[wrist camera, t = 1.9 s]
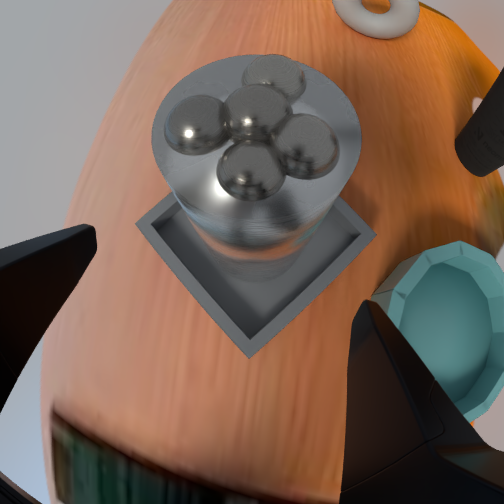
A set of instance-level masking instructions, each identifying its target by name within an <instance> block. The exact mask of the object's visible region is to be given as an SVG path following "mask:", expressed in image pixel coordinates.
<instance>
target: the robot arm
mask: <svg viewBox="0 0 504 504" xmlns="http://www.w3.org/2000/svg"><path fill="white" fill-rule="evenodd" d="M96 251H97V240H96V231H95V228H94V227H93V226H91V225H88V224H81V225H77V226H74V227H70V228H67V229H63V230H60V231H56V232H53V233H50V234H46V235H43V236H39V237H36V238H33V239H30V240H26V241H23V242H20V243H17V244H14V245H11V246H8V247H5V248H2V249H0V413H1V411H2V409H3V407H4V405H5V403H6V401H7V399H8V397H9V395H10V393H11V391H12V389H13V387H14V385H15V383H16V381H17V379H18V377H19V376H20V374H21V372H22V370H23V368H24V367H25V365H26V363H27V361H28V360H29V358H30V356H31V355H32V353H33V351H34V349H35V347H36V346H37V344H38V343H39V341H40V340H41V338H42V336H43V335H44V333H45V332H46V330H47V328H48V327H49V325H50V324H51V322H52V321H53V319H54V318H55V316H56V315H57V313H58V312H59V310H60V309H61V307H62V306H63V304H64V303H65V301H66V300H67V298H68V297H69V296H70V294H71V293H72V291H73V290H74V288H75V287H76V285H77V284H78V282H79V280H80V279H81V277H82V275H83V274H84V272H85V270H86V269H87V267H88V265H89V264H90V262H91V260H92V259H93V257H94V255H95V254H96ZM0 504H42V503H40V502H39V501H38V500H36V499H35V498H33V497H32V496H30V495H29V494H28V493H27V492H25V491H24V490H23V489H21V488H20V487H19V486H17V485H16V484H15V483H14V482H12V481H11V480H10V479H9V478H8V477H6V476H5V475H4V474H3V473H2V472H1V471H0ZM339 504H504V452H502V451H499V450H496V449H494V448H492V447H491V446H489V445H488V444H487V443H485V442H484V441H483V439H482V438H481V437H480V436H479V434H478V433H477V432H476V431H475V429H474V428H473V427H472V426H471V424H470V423H469V422H468V421H467V419H466V418H465V417H464V416H463V414H462V413H461V412H460V411H459V409H458V408H457V407H456V406H455V404H454V403H453V402H452V401H451V399H450V398H449V396H448V395H447V394H446V392H445V391H444V390H443V388H442V387H441V385H440V384H439V383H438V381H437V380H435V377H434V376H433V374H432V373H431V372H430V370H429V369H428V368H427V366H426V365H425V364H424V362H423V361H422V359H421V358H420V357H419V355H418V354H417V353H416V351H415V350H414V349H413V348H412V346H411V345H410V344H409V342H408V341H407V340H406V338H405V337H404V336H403V334H402V333H401V332H400V331H399V329H398V328H397V327H396V326H395V324H394V323H393V322H392V320H391V319H390V318H389V317H388V315H387V314H386V313H385V312H384V310H383V309H382V308H381V307H380V305H379V304H378V303H377V302H374V301H370V300H364V301H363V302H362V304H361V306H360V308H359V310H358V311H357V313H356V315H355V317H354V319H353V322H352V328H351V339H350V348H349V357H348V367H347V412H346V433H345V449H344V462H343V474H342V484H341V493H340V500H339Z"/></svg>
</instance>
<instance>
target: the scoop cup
mask: <svg viewBox="0 0 504 504" xmlns="http://www.w3.org/2000/svg"><path fill="white" fill-rule="evenodd" d="M361 143H362V136H361V127H360V123H359V119H358V116H357V114H356V112H355V109H354V107H353V106H352V104H351V102H350V100H349V99H348V98H347V96H346V95H345V94H344V92H343V91H342V90H341V89H340V88H339V87H338V86H337V85H336V84H335V83H334V82H333V81H331V80H330V79H329V78H327V77H326V76H325V75H323V74H322V73H320V72H318V71H317V70H315V69H313V68H311V67H309V66H307V65H305V64H302V63H300V62H297V61H294V60H292V59H290V58H288V57H286V56H283V55H278V54H269V55H242V56H235V57H230V58H225V59H222V60H218V61H215V62H212V63H210V64H207V65H205V66H203V67H201V68H199V69H197V70H195V71H193V72H192V73H190V74H189V75H187V76H186V77H184V78H183V79H182V80H181V81H180V82H179V83H177V84H176V85H175V86H174V87H173V88H172V89H171V91H170V92H169V93H168V94H167V96H166V97H165V98H164V100H163V101H162V103H161V105H160V107H159V109H158V110H157V113H156V116H155V119H154V122H153V127H152V149H153V154H154V157H155V160H156V163H157V165H158V167H159V169H160V171H161V173H162V175H163V176H164V178H165V180H166V182H167V183H168V185H169V187H170V188H171V190H172V192H173V193H174V195H175V197H176V198H177V200H178V202H179V203H180V205H181V207H182V209H183V210H184V212H185V213H186V215H187V217H188V218H189V220H190V222H191V223H192V225H193V227H194V228H195V230H196V232H197V233H198V235H199V236H200V238H201V240H202V241H203V243H204V245H205V246H206V248H207V249H208V251H209V253H210V254H211V256H212V257H213V259H214V261H215V262H216V263H217V265H218V266H219V267H220V268H221V269H222V270H223V271H224V272H226V273H227V274H228V275H230V276H232V277H234V278H236V279H238V280H241V281H245V282H253V283H254V282H266V281H269V280H273V279H275V278H277V277H279V276H281V275H283V274H284V273H285V272H287V271H288V270H289V269H290V268H291V267H292V266H293V265H294V263H295V262H296V260H297V259H298V258H299V256H300V255H301V253H302V251H303V250H304V248H305V247H306V245H307V244H308V242H309V241H310V239H311V238H312V236H313V235H314V233H315V232H316V230H317V229H318V227H319V225H320V224H321V222H322V221H323V219H324V218H325V216H326V214H327V213H328V211H329V210H330V208H331V207H332V205H333V203H334V202H335V200H336V199H337V197H338V196H339V194H340V192H341V191H342V189H343V188H344V186H345V184H346V183H347V181H348V179H349V178H350V176H351V175H352V173H353V171H354V169H355V167H356V165H357V162H358V160H359V156H360V152H361Z"/></svg>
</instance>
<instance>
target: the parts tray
mask: <svg viewBox="0 0 504 504" xmlns="http://www.w3.org/2000/svg"><path fill="white" fill-rule="evenodd" d="M135 224H136V226H137V227H138V228H139V230H140V231H141V232H142V234H143V235H144V236H145V238H146V239H147V240H148V241H149V243H150V244H151V245H152V247H153V248H154V249H155V250H156V252H157V253H158V254H159V255H160V257H161V258H162V259H163V260H164V262H165V263H166V264H167V265H168V267H169V268H170V269H171V270H172V272H173V273H174V274H175V275H176V276H177V278H178V279H179V280H180V281H181V282H182V284H183V285H184V286H185V287H186V288H187V290H188V291H189V292H190V293H191V294H192V296H193V297H194V298H195V299H196V300H197V301H198V303H199V304H200V305H201V306H202V307H203V308H204V310H205V311H206V312H207V313H208V314H209V315H210V316H211V318H212V319H213V320H214V321H215V322H216V323H217V324H218V326H219V327H220V328H221V329H222V330H223V331H224V332H225V333H226V334H227V336H228V337H229V338H230V339H231V340H232V341H233V342H234V343H235V344H236V345H237V347H238V348H239V349H240V350H241V351H242V352H243V353H244V354H245V355H246V356H247V357H248V358H249V359H250V358H251V357H252V356H253V355H254V354H255V353H256V352H258V351H259V350H260V349H261V348H262V347H263V346H264V345H265V344H267V343H268V342H269V341H270V340H271V339H272V338H273V337H274V336H275V335H277V334H278V333H279V332H280V331H281V330H282V329H283V328H284V327H285V326H286V325H287V324H288V323H290V322H291V321H292V320H293V319H294V318H295V317H296V316H297V315H298V314H299V313H300V312H301V311H302V310H303V309H304V308H305V307H307V306H308V305H309V304H310V303H311V302H312V301H313V300H314V299H315V298H316V297H317V296H318V295H319V294H320V293H321V292H322V291H323V290H324V289H325V288H326V287H327V286H328V285H329V284H330V283H331V282H332V281H333V280H334V279H335V278H336V277H337V276H338V275H339V274H340V273H341V272H342V271H343V270H344V269H345V268H346V267H347V266H348V265H349V264H350V263H351V262H352V261H353V260H354V259H355V258H356V256H357V255H358V254H359V253H360V252H361V251H362V250H363V249H364V248H365V247H366V246H367V245H368V244H369V243H370V242H371V241H372V239H373V238H374V237H375V236H376V235H377V234H376V233H375V232H374V231H373V230H372V229H371V228H370V227H369V226H368V225H367V224H366V223H365V222H364V220H363V219H362V218H361V217H360V216H359V215H358V214H357V213H356V212H355V211H354V210H353V209H352V208H351V207H350V206H349V205H348V204H347V203H346V202H345V201H344V200H343V199H342V198H341V197H340V196H338V197H337V199H336V200H335V202H334V203H333V205H332V207H331V208H330V210H329V211H328V213H327V214H326V216H325V218H324V219H323V221H322V222H321V224H320V225H319V227H318V229H317V230H316V232H315V233H314V235H313V236H312V238H311V239H310V241H309V242H308V244H307V245H306V247H305V248H304V250H303V251H302V253H301V255H300V256H299V258H298V259H297V260H296V262H295V263H294V265H293V266H292V267H291V268H290V269H289V270H288V271H287V272H285V273H284V274H283V275H281V276H279V277H277V278H275V279H273V280H269V281H266V282H254V283H253V282H245V281H241V280H238V279H236V278H234V277H232V276H230V275H228V274H227V273H226V272H224V271H223V270H222V269H221V268H220V267H219V266H218V265H217V263H216V262H215V261H214V259H213V257H212V256H211V254H210V253H209V251H208V249H207V248H206V246H205V245H204V243H203V241H202V240H201V238H200V236H199V235H198V233H197V232H196V230H195V228H194V227H193V225H192V223H191V222H190V220H189V218H188V217H187V215H186V213H185V212H184V210H183V209H182V207H181V205H180V203H179V202H178V200H177V198H176V197H175V195H174V193H173V192H171V193H170V194H169V195H167V196H166V197H165V198H164V199H163V200H161V201H160V202H159V203H158V204H157V205H156V206H154V207H153V208H152V209H151V210H150V211H149V212H147V213H146V214H145V215H144V216H143V217H142V218H141V219H140V220H138V221H137V222H136V223H135Z"/></svg>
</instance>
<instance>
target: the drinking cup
mask: <svg viewBox="0 0 504 504" xmlns="http://www.w3.org/2000/svg"><path fill="white" fill-rule="evenodd" d="M455 150H456V153H457V155H458V158H459V159H460V161H461V163H462V164H463V165H464V167H465V168H466V169H467V170H468V171H469V172H471V173H472V174H474V175H476V176H479V177H484V176H486V175H488V174H489V173H491V172H493V171H494V170H496V169H498V168H499V167H501V166H503V165H504V68H503V69H502V71H501V72H500V74H499V76H498V77H497V79H496V81H495V82H494V84H493V85H492V87H491V88H490V90H489V92H488V93H487V95H486V96H485V98H484V99H483V101H482V102H481V104H480V105H479V107H478V108H477V110H476V111H475V113H474V114H473V115H472V117H471V118H470V120H469V121H468V123H467V124H466V125H465V127H464V128H463V130H462V131H461V132H460V134H459V135H458V137H457V138H456V140H455Z"/></svg>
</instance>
